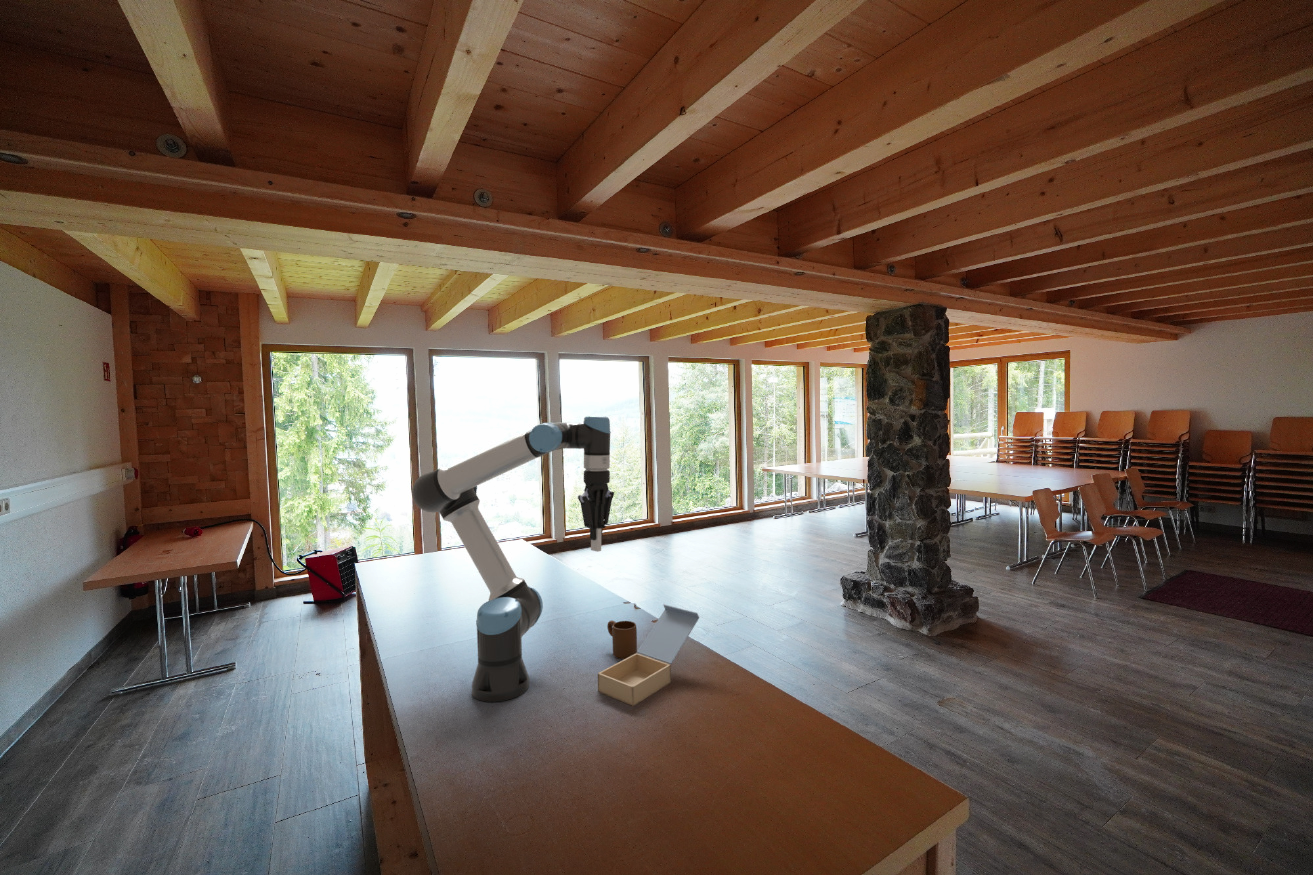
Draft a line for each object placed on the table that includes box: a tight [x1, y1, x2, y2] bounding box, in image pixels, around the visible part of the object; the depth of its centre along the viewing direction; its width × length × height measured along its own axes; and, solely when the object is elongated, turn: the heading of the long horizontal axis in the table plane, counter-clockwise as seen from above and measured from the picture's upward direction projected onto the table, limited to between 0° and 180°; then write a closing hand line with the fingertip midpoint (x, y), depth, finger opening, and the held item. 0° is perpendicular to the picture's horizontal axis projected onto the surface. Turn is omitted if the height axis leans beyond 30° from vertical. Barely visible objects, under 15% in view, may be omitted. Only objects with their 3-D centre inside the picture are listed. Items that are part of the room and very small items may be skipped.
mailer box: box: [597, 653, 672, 707], centre depth 151 cm, size 16×13×5 cm
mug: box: [606, 620, 638, 660], centre depth 173 cm, size 12×8×9 cm, turn 43°
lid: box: [637, 604, 700, 665], centre depth 162 cm, size 17×13×2 cm
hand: (596, 550), depth 160 cm, fingers closed
